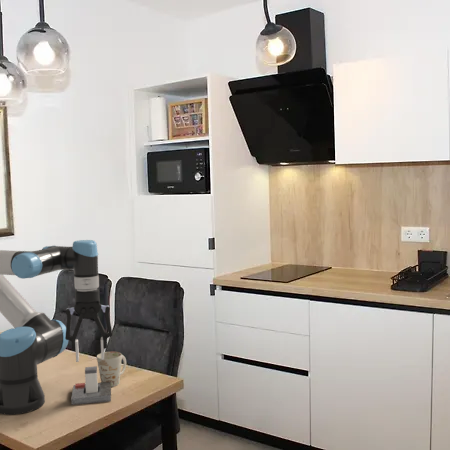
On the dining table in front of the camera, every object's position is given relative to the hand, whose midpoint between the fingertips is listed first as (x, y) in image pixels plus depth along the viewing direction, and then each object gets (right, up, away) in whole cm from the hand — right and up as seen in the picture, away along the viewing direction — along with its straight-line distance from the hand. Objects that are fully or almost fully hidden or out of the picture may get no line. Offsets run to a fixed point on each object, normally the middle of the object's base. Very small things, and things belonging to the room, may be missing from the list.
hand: (90, 359), depth 186 cm
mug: (+5, -11, +14) cm, 18 cm away
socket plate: (0, -12, +1) cm, 12 cm away
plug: (0, -12, +1) cm, 12 cm away
